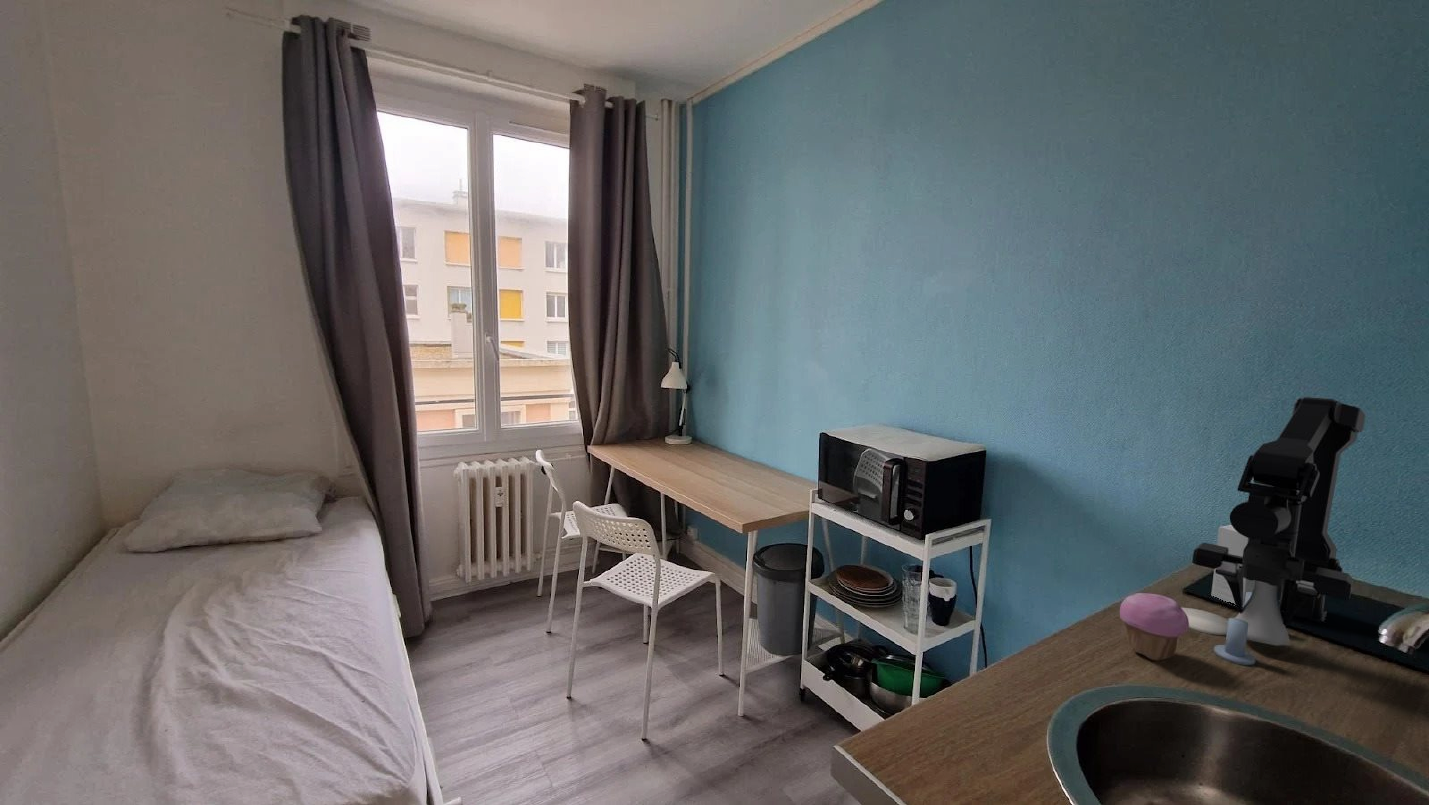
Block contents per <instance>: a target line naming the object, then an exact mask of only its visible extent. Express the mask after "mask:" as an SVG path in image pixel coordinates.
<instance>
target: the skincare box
mask: <svg viewBox="0 0 1429 805" xmlns="http://www.w3.org/2000/svg"><path fill="white" fill-rule="evenodd" d="M1217 534H1218V535H1217V543H1216V545H1218V546H1223V547H1227V548H1228V550H1229V553H1228V554H1232V555H1237V556H1241V557H1243V551H1244V548H1245V547H1246V545H1247V542H1248V538H1247V537H1245V536H1243V535H1241V534H1240V533H1238V532H1237V531H1236V530H1235V529H1234V528H1233V526H1232V525H1231V524H1229V525H1220V526H1219V527H1218V533H1217ZM1216 569H1217V568H1216ZM1216 569H1213V577H1212V586H1211V593H1210V594H1211V597H1213V596H1214V597H1213V598H1215V597H1217V598H1219V599H1218V600H1220V599H1221V600H1220V601H1222V600H1223V602H1225V601H1226V602H1225V603H1227V602H1231V603H1234V604H1235V602H1234V598H1233V595H1232V592H1231V589H1230V587H1229V585H1228V583H1227V581H1226V579H1225V578H1224V577H1223V576H1222V575H1219V574H1216V572H1215V570H1216ZM1254 586H1255V580H1253V581H1252V580H1248V579H1245V578H1244V577H1243V607H1244V605H1245V597H1246V592H1253V590H1254ZM1217 598H1216V599H1217Z"/></svg>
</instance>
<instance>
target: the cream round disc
mask: <svg viewBox="0 0 1429 805" xmlns="http://www.w3.org/2000/svg"><path fill="white" fill-rule="evenodd" d="M1181 608H1182V609H1183V611H1184V612H1185V614H1186V615H1187V617H1188V620H1189V628H1188V629H1191V630H1194V631H1197V632H1200V633H1205V634H1209V635H1216V636H1227V628H1228V620H1229V619H1227V618H1225V617H1223V616H1220V615H1217V614H1216V613H1212V612H1210V611H1206V610H1201V609H1196V608H1193V607H1190V608H1189V607H1181Z"/></svg>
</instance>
